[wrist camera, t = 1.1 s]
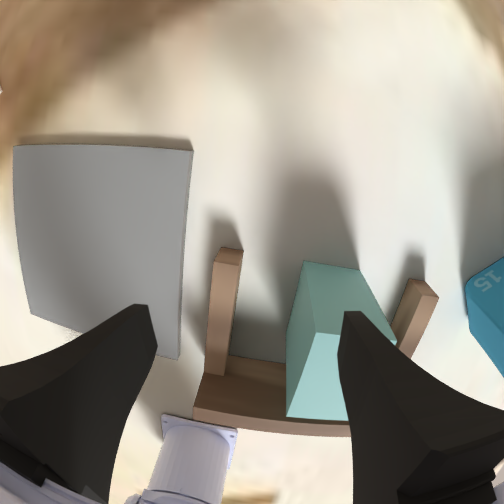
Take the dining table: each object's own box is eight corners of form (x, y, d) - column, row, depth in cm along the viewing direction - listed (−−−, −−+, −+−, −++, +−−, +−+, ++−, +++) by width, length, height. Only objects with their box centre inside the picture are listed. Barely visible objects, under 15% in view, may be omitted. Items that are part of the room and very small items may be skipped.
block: (336, 340, 22) (353, 420, 15) (285, 333, 22) (286, 416, 15) (359, 270, 20) (397, 340, 12) (303, 260, 20) (316, 332, 12)
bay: (377, 384, 23) (393, 435, 18) (209, 364, 24) (192, 419, 18) (425, 281, 20) (462, 325, 14) (221, 246, 20) (199, 289, 14)
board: (180, 354, 24) (177, 360, 23) (35, 309, 24) (30, 313, 23) (193, 150, 18) (189, 151, 17) (19, 145, 18) (13, 146, 17)
